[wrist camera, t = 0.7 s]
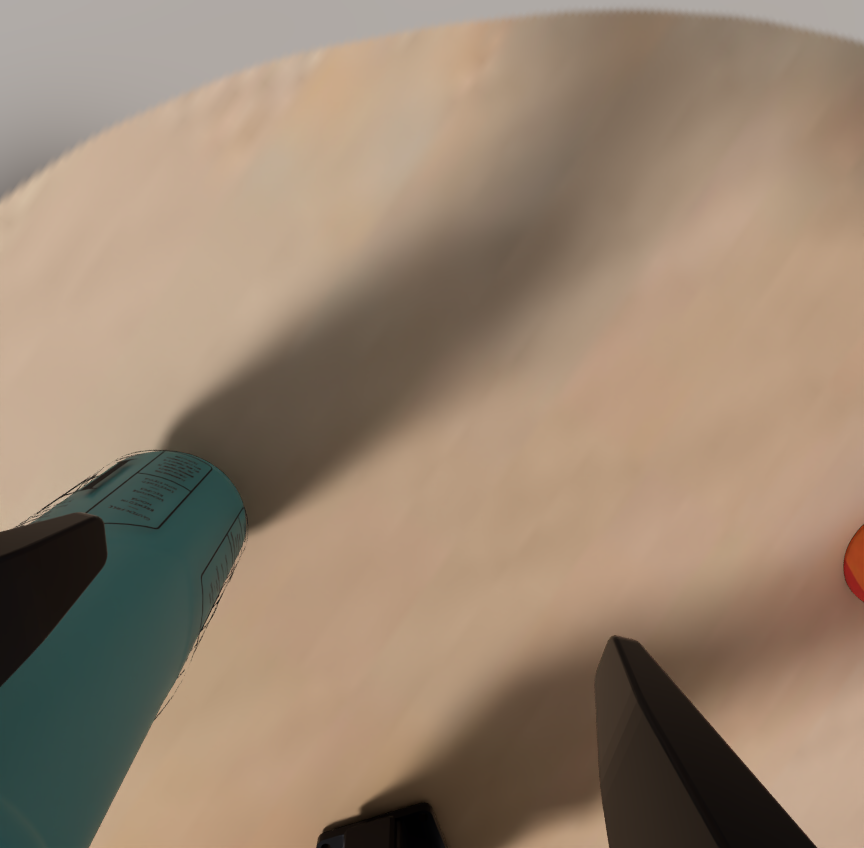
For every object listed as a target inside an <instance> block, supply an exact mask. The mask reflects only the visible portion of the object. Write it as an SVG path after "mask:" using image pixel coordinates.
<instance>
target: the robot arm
mask: <svg viewBox="0 0 864 848" xmlns="http://www.w3.org/2000/svg"><path fill="white" fill-rule="evenodd" d="M107 556H108V551H107V542H106V533H105V524H104V521H103V520H102V518H100V517H99V516H96V515H91V514H87V513H83V512H75V513H71V514H67V515H63V516H59V517H55V518H52V519H48V520H44V521H40V522H36V523H33V524H29V525H25V526H21V527H18V528H14V529H10V530H6V531H2V532H0V687H1V686H2V685H3V684H4V683H5V682H6V681H7V680H8V679H9V678H10V677H11V676H12V675H13V674H14V673H15V672H16V671H17V669H18V668H19V667H20V666H21V665H22V664H23V663H24V662H25V661H26V660H27V659H28V658H29V657H30V656H31V655H32V654H33V653H34V651H35V650H36V649H37V648H38V647H39V646H40V645H41V644H42V643H43V641H44V640H45V639H46V638H47V637H48V636H49V634H50V633H51V632H52V631H53V630H54V628H55V627H56V626H57V625H58V623H59V622H60V621H61V620H62V618H63V617H64V616H65V615H66V613H67V612H68V611H69V610H70V608H71V607H72V606H73V605H74V603H75V602H76V601H77V600H78V598H79V597H80V596H81V595H82V594H83V592H84V591H85V590H86V589H87V587H88V586H89V585H90V584H91V582H92V581H93V580H94V579H95V577H96V576H97V575H98V574H99V572H100V571H101V570H102V568H103V567H104V565H105V563H106V560H107ZM595 703H596V723H597V742H598V761H599V777H600V789H601V796H602V804H603V810H604V817H605V823H606V830H607V836H608V843H609V848H817V847H816V846H815V845H814V843H813V842H812V841H811V840H810V839H809V838H808V836H807V835H806V834H805V833H804V832H803V831H802V830H801V828H800V827H799V826H798V825H797V824H796V823H795V821H794V820H793V819H792V818H791V817H790V816H789V815H788V813H787V812H786V811H785V810H784V809H783V808H782V806H781V805H780V804H779V803H778V802H777V801H776V800H775V798H774V797H773V796H772V795H771V794H770V793H769V791H768V790H767V789H766V788H765V787H764V786H763V785H762V783H761V782H760V781H759V780H758V779H757V778H756V776H755V775H754V774H753V773H752V772H751V771H750V770H749V768H748V767H747V766H746V765H745V764H744V763H743V761H742V760H741V759H740V758H739V757H738V756H737V755H736V753H735V752H734V751H733V750H732V749H731V748H730V746H729V745H728V744H727V743H726V742H725V741H724V740H723V738H722V737H721V736H720V735H719V734H718V733H717V731H716V730H715V729H714V728H713V727H712V726H711V725H710V723H709V722H708V721H707V720H706V719H705V718H704V716H703V715H702V714H701V713H700V712H699V711H698V710H697V708H696V707H695V706H694V705H693V704H692V703H691V701H690V700H689V699H688V698H687V697H686V696H685V695H684V693H683V692H682V691H681V690H680V689H679V688H678V686H677V685H676V684H675V683H674V682H673V681H672V680H671V678H670V677H669V676H668V675H667V674H666V673H665V671H664V670H663V669H662V668H661V667H660V666H659V665H658V663H657V662H656V661H655V660H654V659H653V658H652V656H651V655H650V654H649V653H648V652H647V651H646V650H645V648H644V647H643V646H642V645H641V644H640V643H639V642H638V641H636V640H634V639H629V638H625V637H621V636H616V635H614V636H612V637H610V639H609V640H608V642H607V644H606V647H605V650H604V652H603V655H602V658H601V660H600V663H599V666H598V668H597V671H596V675H595ZM316 848H448V847H447V844H446V842H445V839H444V837H443V834H442V832H441V829H440V827H439V824H438V822H437V819H436V817H435V814H434V812H433V809H432V807H431V806H430V805H429V804H427V803H420V804H417V805H413V806H410V807H407V808H404V809H400V810H397V811H394V812H390V813H387V814H384V815H381V816H377V817H374V818H371V819H367V820H364V821H361V822H358V823H354V824H351V825H348V826H344V827H341V828H338V829H335V830H331V831H328V832H325V833H322V834H321V835H320V836H319V837H318V841H317V847H316Z"/></svg>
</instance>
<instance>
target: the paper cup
mask: <svg viewBox="0 0 864 848" xmlns="http://www.w3.org/2000/svg"><path fill="white" fill-rule="evenodd" d="M844 576H845V580H846V583H847V585H848V586H849V588H850V590H851V591H852V592H853V593H854V594H855V595H856V596H857V597H858V598H859V599H860V600H862V601H863V602H864V525H863V526H862V527H861V528H860V529H859V530H858V531H857V533H856V534H855V535H854V537H853V538H852V540H851V542H850V543H849V546H848V548H847V550H846V554H845V558H844Z"/></svg>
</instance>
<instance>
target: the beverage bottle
mask: <svg viewBox="0 0 864 848" xmlns="http://www.w3.org/2000/svg"><path fill="white" fill-rule="evenodd" d="M147 451H157V452H148V453H143V454H137V455H135V456H133V455H131V456H132V457H129V458H128V457H125V458H126V459H124V458H122V459H124V460H122V461H120V462H117V464H115V465H114V466H112V467H111V468H110V469H108V470H107V471H105V472H104V473H102V474H101V475H99V476H96V475H97V474H96V475H95V473H94V475H93V477H91V478H90V479H93V478H95V476H96V477H97V478H95V479H94V480H91V481H90V482H89V483H88V481H89V480H90V479H88V478H87V479H88V480H87V479H86V480H87V483H88V484H87V485H86V483H85V482H86V480H84V481H83V482H81V483H82V484H83V483H85V486H84V487H82V488H81V489H79V488H80V487H81V486H80V487H79V488H78V489H79V490H78V489H77V490H78V491H77V490H76V491H75V492H73V494H72V493H70V494H72V495H71V496H69V497H68V498H66V499H65V500H64V501H62V502H61V503H59V504H56V506H55V505H54V506H55V507H53V508H52V509H51V510H50V509H49V511H48V512H46V513H44V514H43V515H42V516H40V515H37V514H39V512H40V511H39V512H37V513H36V515H37V516H40V517H39V518H36V520H35V519H33V520H35V521H33V522H32V523H29V524H33V523H36V522H40V521H44V520H48V519H52V518H55V517H59V516H63V515H67V514H71V513H75V512H83V513H87V514H91V515H96V516H99V517H100V518H102V520H103V521H104V524H105V533H106V542H107V551H108V556H107V560H106V563H105V565H104V567H103V568H102V570H101V571H100V572H99V574H98V575H97V576H96V577H95V579H94V580H93V581H92V582H91V584H90V585H89V586H88V587H87V589H86V590H85V591H84V592H83V594H82V595H81V596H80V597H79V598H78V600H77V601H76V602H75V603H74V605H73V606H72V607H71V608H70V610H69V611H68V612H67V613H66V615H65V616H64V617H63V618H62V620H61V621H60V622H59V623H58V625H57V626H56V627H55V628H54V630H53V631H52V632H51V633H50V634H49V636H48V637H47V638H46V639H45V640H44V641H43V643H42V644H41V645H40V646H39V647H38V648H37V649H36V650H35V651H34V653H33V654H32V655H31V656H30V657H29V658H28V659H27V660H26V661H25V662H24V663H23V664H22V665H21V666H20V667H19V668H18V669H17V671H16V672H15V673H14V674H13V675H12V676H11V677H10V678H9V679H8V680H7V681H6V682H5V683H4V684H3V685H2V686H1V687H0V848H89V846H90V844H91V842H92V840H93V838H94V836H95V835H96V833H97V831H98V829H99V827H100V825H101V823H102V821H103V819H104V817H105V815H106V813H107V811H108V809H109V807H110V805H111V803H112V801H113V799H114V797H115V795H116V793H117V791H118V789H119V788H120V786H121V784H122V782H123V780H124V778H125V776H126V774H127V772H128V770H129V768H130V766H131V764H132V762H133V760H134V758H135V756H136V754H137V752H138V750H139V748H140V746H141V744H142V742H143V741H144V739H145V737H146V735H147V733H148V731H149V729H150V727H151V725H152V723H153V721H154V720H155V719H156V718H157V717H156V715H157V713H158V711H159V709H160V707H161V705H162V703H163V701H164V700H165V698H166V696H167V695H168V693H169V691H170V690H171V688H172V686H173V685H174V683H175V681H176V679H177V678H178V677H179V676H178V675H179V673H180V671H181V670H182V668H183V666H184V663H185V661H187V659H188V658H187V657H188V655H189V653H190V652H191V650H193V649H192V647H193V645H194V643H195V641H196V639H197V637H198V638H199V636H198V635H199V634H200V632H201V631H202V630H203V629H204V628H205V627H206V626H205V627H204V624H205V622H206V620H207V618H208V616H209V614H210V612H211V610H212V608H213V607H214V606H215V605H216V604H217V605H218V603H219V601H220V599H221V597H222V595H223V593H222V595H221V597H220V599H219V600H218V602H217V603H216V604H215V602H216V600H217V598H218V597H219V594H220V592H221V590H222V588H223V586H224V585H225V584H226V583H225V584H224V582H225V580H227V579H226V578H228V577H227V576H228V574H229V572H231V574H232V575H233V572H234V571H233V572H232V570H235V569H234V568H233V569H232V570H231V568H232V566H233V564H234V562H235V560H236V558H237V556H238V555H239V552H240V550H241V547H242V545H243V541H244V539H245V540H246V537H245V534H246V533H245V532H246V517H247V514H246V517H245V513H246V510H244V509H245V508H244V506H243V502H242V499H241V497H240V495H239V493H238V491H237V489H236V487H235V486H234V485H233V483H232V482H231V481H230V479H229V478H228V477H227V476H226V475H225V474H224V473H223V472H222V471H220V470H219V469H218V468H217V467H215V466H214V465H212V464H211V463H209V462H207V461H205V460H203V459H201V458H198V457H196V456H193V455H190V454H186V453H182V452H174V451H166V450H147ZM139 452H141V451H139ZM135 453H137V452H135ZM131 454H132V453H131ZM128 455H129V454H128ZM125 456H126V455H125ZM122 457H123V456H122ZM119 460H121V459H119ZM117 461H118V460H117ZM110 464H111V463H110ZM108 465H109V464H108ZM106 466H107V465H106ZM103 468H104V467H103ZM103 468H102V469H103ZM102 469H101V470H102ZM96 473H97V472H96ZM81 483H80V484H81ZM80 484H78V485H80ZM78 485H77V486H78ZM77 486H75V487H74V488H76V487H77ZM74 488H72V489H71V490H73V489H74ZM71 490H69V491H68V492H70V491H71ZM68 492H66V493H65V494H63V495H62V496H60V497H59V498H61V497H63V496H66V495H69V494H67V493H68ZM59 498H58V499H59ZM58 499H56V500H58ZM56 500H55V501H56ZM55 501H53V502H55ZM53 502H51V503H50V504H49V505H51V504H52V503H53ZM49 505H47V506H46V507H47V508H49V507H48V506H49ZM46 507H44V508H43V509H42V510H44V509H46ZM50 507H51V506H50ZM42 510H41V511H42ZM46 511H47V510H46ZM43 512H44V511H43ZM40 514H41V513H40ZM37 516H36V517H37ZM31 517H32V518H34V517H35V516H34V517H33V516H31ZM29 518H30V517H29ZM29 518H28V520H29ZM30 519H31V518H30ZM26 521H27V520H26ZM26 521H24V522H26ZM30 521H31V520H30ZM30 521H29V522H30ZM26 523H27V522H26ZM20 524H21V523H20ZM23 524H24V523H23ZM247 524H248V520H247ZM21 525H22V524H21ZM19 526H20V525H19ZM23 526H24V525H23ZM16 527H18V526H16ZM16 527H15V528H16ZM20 527H21V526H20ZM13 529H14V528H13ZM247 537H248V536H247ZM244 542H245V541H244ZM246 543H247V542H246ZM244 550H245V548H244ZM244 550H243V551H244ZM241 552H242V550H241ZM238 562H239V561H238ZM236 565H237V564H236ZM235 568H236V567H235ZM230 570H231V571H230ZM231 574H230V575H231ZM232 575H231V576H230V578H229V580H230V579H231V577H232ZM228 582H229V581H228ZM223 584H224V585H223ZM227 584H228V583H227ZM223 592H224V591H223ZM214 604H215V605H214ZM216 607H217V606H216ZM215 609H217V608H215ZM214 611H216V610H214ZM213 613H215V612H213ZM213 615H214V614H213ZM213 615H212V617H213ZM212 617H211V618H212ZM210 620H211V619H210ZM210 620H209V622H210ZM209 622H208V623H207V624H209ZM207 626H208V625H207ZM203 627H204V628H203ZM206 628H207V627H206ZM205 630H206V629H205ZM204 632H205V631H204ZM203 634H204V633H203ZM202 637H203V635H202ZM202 637H201V638H202ZM200 640H201V639H200ZM197 644H198V640H197ZM197 644H196V645H195V646H197ZM195 646H194V647H195ZM197 647H198V646H197ZM195 649H197V648H195ZM195 651H196V650H195ZM195 651H194V652H195ZM193 655H194V654H193ZM192 657H193V656H192ZM191 660H192V659H191ZM190 663H191V662H190ZM183 672H184V671H183ZM183 672H182V673H183ZM180 675H181V674H180ZM184 676H185V675H184ZM181 682H182V681H181ZM179 685H180V684H179ZM178 687H179V686H178ZM176 690H177V689H176ZM175 692H176V691H175ZM172 697H173V696H172ZM172 697H171V698H172ZM169 701H170V700H169ZM169 701H168V702H169ZM166 705H167V704H166ZM166 705H165V706H166ZM164 708H165V707H164ZM164 708H163V709H164ZM163 709H162V710H163ZM161 712H162V711H161ZM161 712H160V713H161ZM160 713H159V714H160ZM159 714H158V715H159ZM158 715H157V716H158ZM155 717H156V718H155Z"/></svg>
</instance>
